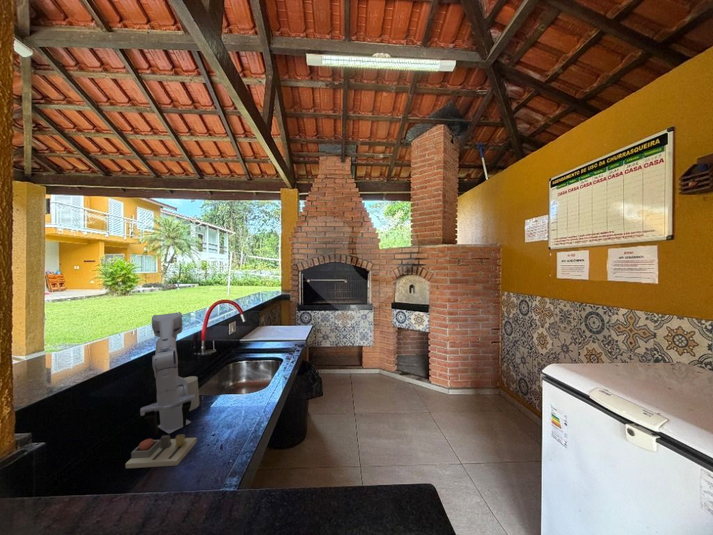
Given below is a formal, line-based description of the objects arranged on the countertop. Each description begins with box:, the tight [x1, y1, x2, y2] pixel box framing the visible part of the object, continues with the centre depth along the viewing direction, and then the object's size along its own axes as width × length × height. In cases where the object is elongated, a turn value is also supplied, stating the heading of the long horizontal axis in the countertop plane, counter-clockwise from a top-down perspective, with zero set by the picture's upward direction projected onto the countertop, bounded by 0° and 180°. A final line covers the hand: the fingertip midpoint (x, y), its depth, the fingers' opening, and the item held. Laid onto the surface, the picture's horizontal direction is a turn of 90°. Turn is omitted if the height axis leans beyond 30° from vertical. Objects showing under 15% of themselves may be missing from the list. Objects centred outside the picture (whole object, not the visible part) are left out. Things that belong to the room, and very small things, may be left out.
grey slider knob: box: [160, 434, 172, 448], centre depth 93 cm, size 3×2×3 cm, turn 91°
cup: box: [178, 375, 200, 412], centre depth 121 cm, size 8×8×12 cm
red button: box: [138, 438, 154, 451], centre depth 91 cm, size 4×4×2 cm
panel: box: [124, 437, 198, 469], centre depth 92 cm, size 16×11×4 cm
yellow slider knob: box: [175, 433, 187, 447], centre depth 93 cm, size 3×2×3 cm, turn 91°
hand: (170, 429), depth 90 cm, fingers open, 7 cm apart
